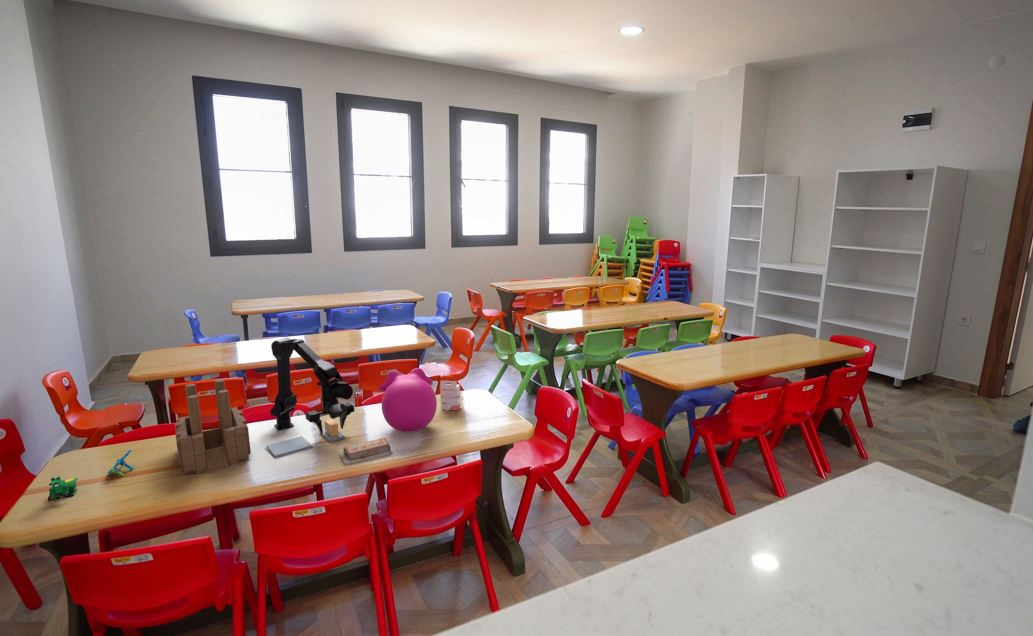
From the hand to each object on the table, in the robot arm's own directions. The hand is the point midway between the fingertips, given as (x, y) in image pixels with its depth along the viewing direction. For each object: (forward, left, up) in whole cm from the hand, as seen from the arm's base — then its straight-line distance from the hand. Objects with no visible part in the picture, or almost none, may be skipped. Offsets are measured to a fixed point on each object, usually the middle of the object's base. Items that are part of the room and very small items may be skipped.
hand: (331, 431), depth 217 cm
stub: (0, 0, -2) cm, 2 cm away
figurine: (+15, +28, -2) cm, 32 cm away
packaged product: (+26, +3, -3) cm, 26 cm away
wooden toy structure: (-12, -41, -2) cm, 43 cm away
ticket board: (0, -17, -2) cm, 17 cm away
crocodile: (-14, -85, -2) cm, 86 cm away
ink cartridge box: (+7, +55, -2) cm, 55 cm away
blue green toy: (-19, -70, -2) cm, 73 cm away
